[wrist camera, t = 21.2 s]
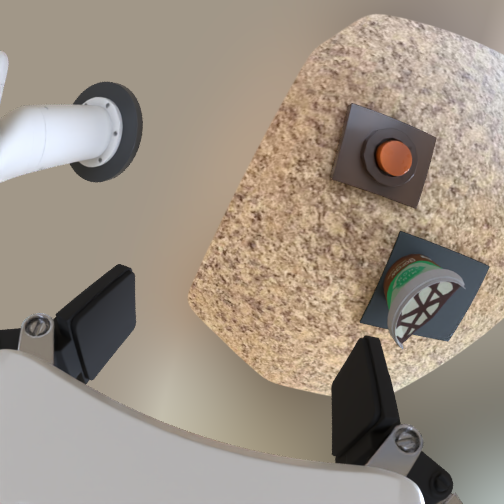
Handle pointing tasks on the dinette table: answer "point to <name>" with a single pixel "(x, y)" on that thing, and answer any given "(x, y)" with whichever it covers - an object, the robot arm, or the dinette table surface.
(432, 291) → the food container
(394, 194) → the button box
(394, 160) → the button
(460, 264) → the mat
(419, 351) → the dinette table surface
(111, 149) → the robot arm
